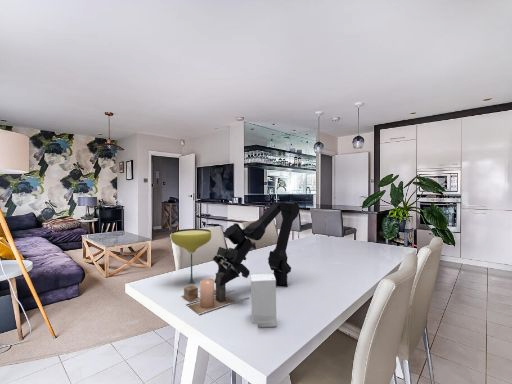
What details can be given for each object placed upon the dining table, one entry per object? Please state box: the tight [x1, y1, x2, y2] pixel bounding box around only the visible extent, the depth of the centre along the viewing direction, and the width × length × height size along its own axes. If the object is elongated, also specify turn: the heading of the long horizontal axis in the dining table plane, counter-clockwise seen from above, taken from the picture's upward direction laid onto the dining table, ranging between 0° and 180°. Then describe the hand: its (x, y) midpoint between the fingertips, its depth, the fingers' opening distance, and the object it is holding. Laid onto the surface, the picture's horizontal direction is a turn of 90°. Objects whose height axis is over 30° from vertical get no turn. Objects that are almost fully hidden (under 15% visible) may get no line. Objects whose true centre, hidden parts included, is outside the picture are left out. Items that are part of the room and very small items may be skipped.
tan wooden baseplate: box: [187, 272, 236, 315], centre depth 99 cm, size 16×8×12 cm, turn 130°
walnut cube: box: [183, 284, 199, 302], centre depth 105 cm, size 4×4×4 cm
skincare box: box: [250, 273, 277, 328], centre depth 88 cm, size 8×7×16 cm
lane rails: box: [185, 289, 250, 317], centre depth 101 cm, size 22×11×1 cm, turn 130°
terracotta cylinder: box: [199, 278, 215, 308], centre depth 98 cm, size 5×5×9 cm
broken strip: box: [180, 289, 216, 304], centre depth 107 cm, size 14×8×1 cm, turn 130°
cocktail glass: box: [170, 228, 212, 285], centre depth 121 cm, size 18×18×25 cm
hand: (217, 284), depth 101 cm, fingers closed on tan wooden baseplate, 3 cm apart
